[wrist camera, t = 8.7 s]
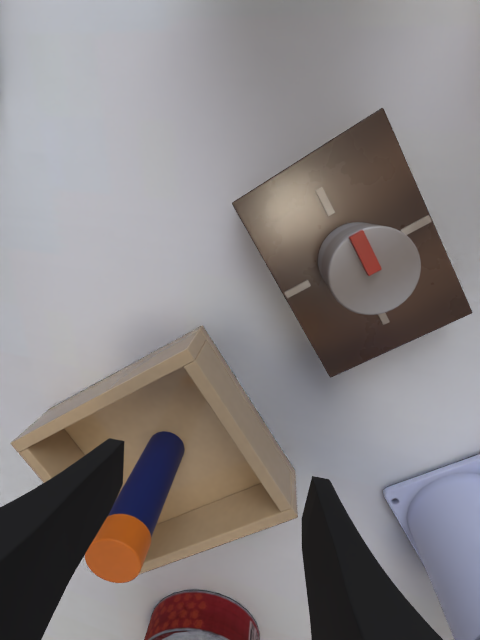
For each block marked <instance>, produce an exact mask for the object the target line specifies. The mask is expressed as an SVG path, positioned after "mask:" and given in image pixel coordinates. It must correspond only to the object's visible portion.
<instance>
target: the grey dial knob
mask: <svg viewBox="0 0 480 640" xmlns="http://www.w3.org/2000/svg"><path fill="white" fill-rule="evenodd" d="M318 267H319V271H320V274H321V276H322V278H323V279H324V281H325V283H326V284H327V286H328V287H329V289H330V291H331V292H332V294H333V295H334V297H335V298H336V300H337V301H338V302H339V303H340V304H341V305H342V306H344V307H345V308H347V309H348V310H350V311H352V312H355V313H359V314H364V315H376V314H382V313H385V312H388V311H390V310H393V309H394V308H396V307H398V306H399V305H401V304H402V303H403V302H404V301H405V300H407V298H408V297H409V296H410V295H411V294H412V292H413V291H414V289H415V287H416V285H417V283H418V280H419V277H420V271H421V261H420V256H419V253H418V250H417V248H416V246H415V244H414V243H413V242H412V240H411V239H410V238H409V237H408V236H407V235H405V234H404V233H403V232H401V231H399V230H397V229H394V228H391V227H387V226H381V225H375V224H369V223H363V222H352V223H347V224H345V225H342V226H340V227H338V228H336V229H335V230H333V231H332V232H331V233H330V234H329V235H328V236H327V237H326V239H325V240H324V242H323V243H322V245H321V248H320V250H319V254H318Z"/></svg>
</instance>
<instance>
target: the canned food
mask: <svg viewBox="0 0 480 640" xmlns="http://www.w3.org/2000/svg"><path fill="white" fill-rule="evenodd" d="M144 640H260V634H259V630H258V626H257V624H256V622H255V620H254V619H253V617H252V616H251V614H250V613H249V612H248V611H247V610H246V609H245V608H243V607H242V606H241V605H240V604H238V603H237V602H235V601H233V600H231V599H230V598H228V597H225V596H222V595H220V594H217V593H213V592H208V591H200V590H190V591H182V592H177V593H174V594H172V595H169V596H167V597H166V598H164V599H163V600H161V601H160V602H159V603H158V605H157V606H156V607H155V608H154V611H153V613H152V616H151V620H150V623H149V626H148V629H147V633H146V636H145V639H144Z"/></svg>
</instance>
